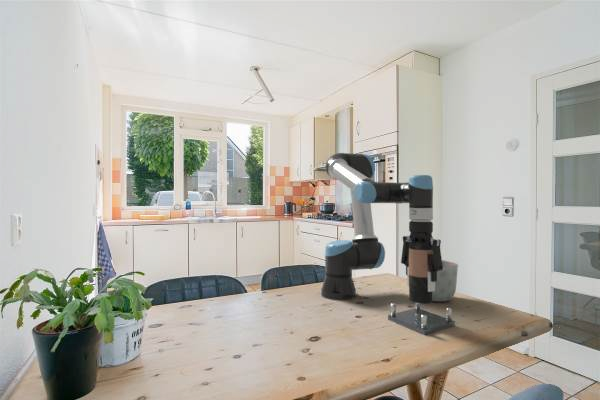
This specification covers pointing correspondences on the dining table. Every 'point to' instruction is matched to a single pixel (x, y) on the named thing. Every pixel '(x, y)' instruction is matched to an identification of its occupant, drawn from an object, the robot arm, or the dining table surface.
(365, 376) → the dining table surface
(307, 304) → the dining table surface
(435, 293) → the planter
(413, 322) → the stand
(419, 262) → the travel mug
